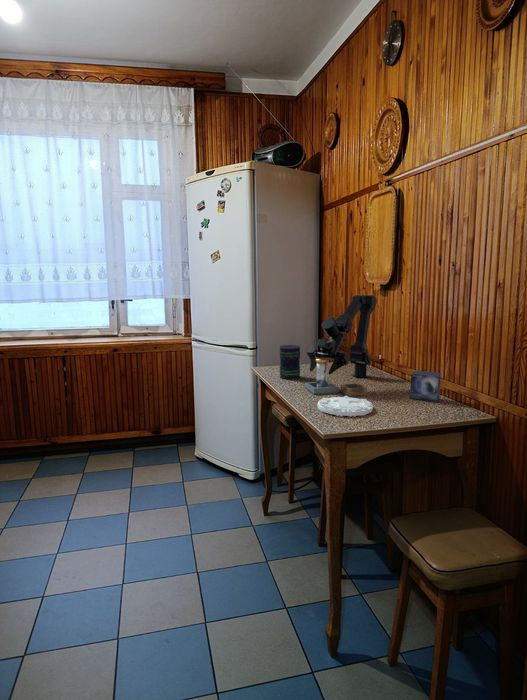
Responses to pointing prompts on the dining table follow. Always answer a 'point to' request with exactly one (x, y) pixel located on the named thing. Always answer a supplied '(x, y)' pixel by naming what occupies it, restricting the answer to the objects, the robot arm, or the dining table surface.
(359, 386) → the socket block
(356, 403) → the giant coin
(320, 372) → the pin
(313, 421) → the dining table surface
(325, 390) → the tray
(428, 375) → the small box
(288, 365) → the storage jar
